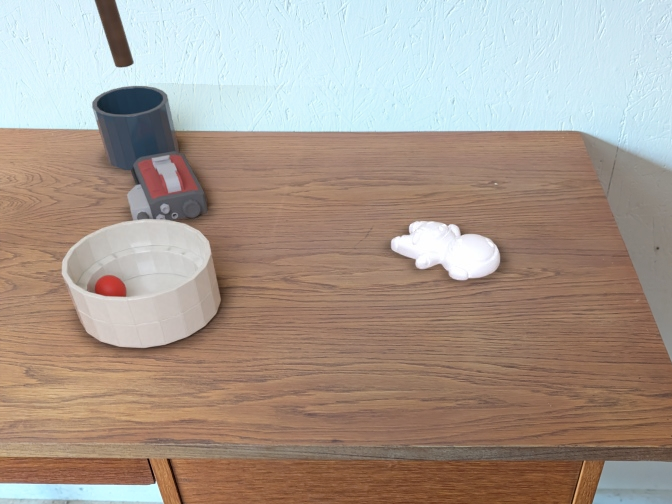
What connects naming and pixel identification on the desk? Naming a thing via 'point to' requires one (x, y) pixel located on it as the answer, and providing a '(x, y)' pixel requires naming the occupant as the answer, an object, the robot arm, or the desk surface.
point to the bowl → (143, 282)
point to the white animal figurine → (448, 249)
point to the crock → (134, 124)
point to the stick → (114, 32)
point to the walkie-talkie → (165, 188)
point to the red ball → (110, 286)
